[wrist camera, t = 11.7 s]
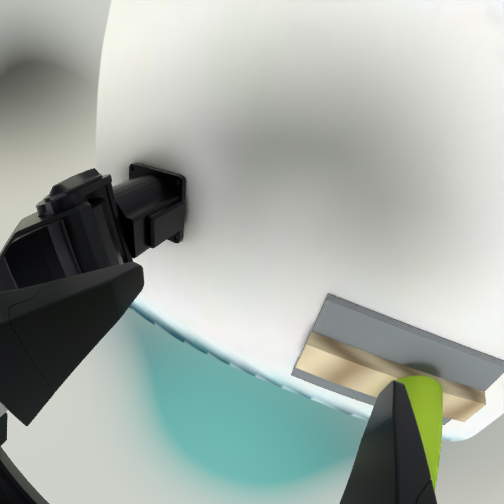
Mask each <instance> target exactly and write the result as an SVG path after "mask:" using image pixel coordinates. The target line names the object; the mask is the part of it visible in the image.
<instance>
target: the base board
mask: <svg viewBox="0 0 504 504" xmlns="http://www.w3.org/2000/svg"><path fill="white" fill-rule="evenodd" d="M312 331H314V332H316V333H319V334H321V335H324V336H326V337H329V338H331V339H334V340H336V341H339V342H342V343H344V344H347V345H349V346H352V347H355V348H357V349H360V350H363V351H365V352H368V353H371V354H373V355H376V356H379V357H382V358H384V359H387V360H390V361H393V362H396V363H398V364H401V365H404V366H407V367H410V368H413V369H416V370H419V371H422V372H425V373H428V374H431V375H434V376H437V377H440V378H443V379H446V380H449V381H452V382H456V383H459V384H462V385H465V386H469V387H472V388H475V389H479V390H482V391H485V390H486V389H487V388H489V387H490V386H491V385H492V384H493V383H494V382H495V381H496V380H497V379H498V378H499V377H500V376H501V375H502V374H503V373H504V361H503V360H500V359H497V358H494V357H492V356H489V355H486V354H484V353H481V352H478V351H476V350H473V349H470V348H468V347H465V346H462V345H460V344H457V343H454V342H452V341H449V340H446V339H444V338H441V337H439V336H436V335H433V334H431V333H428V332H426V331H423V330H420V329H418V328H415V327H412V326H410V325H407V324H405V323H402V322H400V321H397V320H394V319H392V318H389V317H387V316H384V315H381V314H379V313H376V312H374V311H371V310H369V309H366V308H364V307H361V306H358V305H356V304H353V303H351V302H348V301H346V300H343V299H341V298H338V297H336V296H333V295H331V294H328V296H327V298H326V300H325V303H324V305H323V307H322V310H321V312H320V314H319V316H318V319H317V321H316V323H315V325H314V327H313V330H312ZM310 335H311V334H310ZM309 337H310V336H309ZM308 339H309V338H308ZM307 341H308V340H307ZM306 343H307V342H306ZM305 345H306V344H305ZM300 356H301V355H300ZM299 358H300V357H299ZM298 360H299V359H298ZM297 362H298V361H297ZM296 365H297V363H296ZM296 365H295V367H294V369H293V371H292V373H291V375H292V376H295V377H297V378H299V379H302V380H304V381H307V382H309V383H312V384H315V385H317V386H320V387H322V388H325V389H328V390H330V391H333V392H336V393H339V394H341V395H344V396H347V397H350V398H353V399H356V400H358V401H361V402H364V403H367V404H371V405H375V402H376V399H377V398H376V397H373V396H370V395H367V394H364V393H362V392H359V391H356V390H353V389H350V388H347V387H345V386H342V385H339V384H336V383H334V382H331V381H328V380H326V379H323V378H321V377H318V376H315V375H313V374H310V373H308V372H305V371H303V370H300V369H298V368H296ZM450 420H451V419H450V418H446V417H443V418H442V425H445V424H446V423H447V422H449V421H450Z"/></svg>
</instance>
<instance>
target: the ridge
mask: <svg viewBox="0 0 504 504" xmlns="http://www.w3.org/2000/svg"><path fill="white" fill-rule="evenodd" d="M296 368H298V369H300V370H303V371H305V372H308V373H310V374H313V375H315V376H318V377H321V378H323V379H326V380H328V381H331V382H334V383H336V384H339V385H342V386H345V387H347V388H350V389H353V390H356V391H359V392H362V393H364V394H367V395H370V396H373V397H376V398H377V397H378V395H379V393H380V392H381V391H382V390H383V389H384V388H385V387H386V386H387V385H388V384H389V383H390V382H391V381H393V380H398V379H401V378H404V377H409V376H426V377H430V378H433V379H435V380H437V381H438V382H439V383H440V384H441V386H442V388H443V417H446V418H450V419H454V420H459V421H463V422H465V421H466V420H467V419H469V418H470V417H471V416H472V415H474V414H475V413H476V412H477V411H479V410H480V409H481V408H482V407H483V406H485V405H486V400H485V391H482V390H479V389H475V388H472V387H469V386H465V385H462V384H459V383H456V382H452V381H449V380H446V379H443V378H440V377H437V376H434V375H431V374H428V373H425V372H422V371H419V370H416V369H413V368H410V367H407V366H404V365H401V364H398V363H396V362H393V361H390V360H387V359H384V358H382V357H379V356H376V355H373V354H371V353H368V352H365V351H363V350H360V349H357V348H355V347H352V346H349V345H347V344H344V343H342V342H339V341H336V340H334V339H331V338H329V337H326V336H324V335H321V334H319V333H316V332H314V331H312V332H311V335H310V337H309V339H308V341H307V343H306V345H305V347H304V349H303V351H302V353H301V356H300V358H299V360H298V362H297V365H296Z"/></svg>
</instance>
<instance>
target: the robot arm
mask: <svg viewBox="0 0 504 504" xmlns="http://www.w3.org/2000/svg"><path fill="white" fill-rule="evenodd" d="M178 180H180V183H179V181H178ZM111 182H112V179H111V175H105V176H102V175H101V174H99V173H98V171H97V170H96V169H95V168H94V169H90V170H87V171H85V172H83V173H79V174H77V175H75V176H72V177H70V178H68V179H66V180H64V181H62V182H60V183H58V184H56V185H55V186H53V187H52V190H51V192H50V194H49V195H48V196H46V197H45V198H44V199H43V200H42V201H41V202H39V203H38V204H37V205H36V207H37V210H38V212H36V213H34V214H32V215H30V216H27V217H26V218H24V219H22V220H21V221H20V222H19V224H18V225H17V227H16V228H15V230H14V232H13V233H12V235H11V236H10V238H9V239H8V241H7V242H6V244H5V246H4V247H3V249H2V251H1V252H0V504H49V503H48V502H47V501H46V500H45V499H44V498H43V497H42V496H41V495H40V494H39V493H38V492H37V491H36V490H35V488H34V487H33V486H32V485H31V484H30V483H29V482H28V481H27V479H26V478H25V477H24V476H23V475H22V473H21V472H20V471H19V470H18V469H17V467H16V466H15V465H14V464H13V462H12V461H11V460H10V458H9V457H8V456H7V454H6V453H5V452H4V451H3V449H2V448H1V445H2V444H3V443H4V442H5V441H6V440H7V413H6V411H7V410H9V411H10V412H11V413H12V414H13V415H14V416H15V417H16V418H18V419H19V420H20V421H21V422H22V423H23V424H24V425H26V426H28V425H29V424H30V423H31V421H32V420H33V419H34V418H35V417H36V415H37V414H38V413H39V412H40V410H41V409H42V408H43V406H44V405H45V404H46V403H47V402H48V401H49V399H50V398H51V397H52V396H53V394H54V393H55V392H56V391H57V389H58V388H59V387H60V386H61V385H62V384H63V382H64V381H65V380H66V379H67V378H68V376H69V375H70V374H71V373H72V372H73V371H74V369H75V368H76V367H77V366H78V365H79V364H80V363H81V362H82V360H83V359H84V358H85V357H86V356H87V355H88V354H89V352H90V351H91V350H92V349H93V348H94V347H95V346H96V345H97V344H98V342H99V341H100V340H101V339H102V338H103V337H104V336H105V335H106V333H107V332H108V331H109V330H110V329H111V328H112V327H113V326H114V325H115V324H116V323H117V322H118V320H119V319H120V318H121V317H122V315H123V314H124V313H125V311H126V310H127V309H128V308H129V306H130V305H131V304H132V302H133V301H134V300H135V298H136V297H137V296H138V294H139V293H140V292H141V291H142V289H143V287H144V274H143V268H142V266H141V265H139V264H137V263H135V262H133V259H132V258H136V257H137V256H139V255H140V254H142V253H143V252H144V251H146V250H147V249H149V248H150V247H151V248H155V247H156V246H158V245H159V244H161V243H162V242H163V241H165V240H166V239H167V240H170V241H172V242H174V243H179V242H181V241H182V239H183V226H184V206H185V203H184V198H185V183H186V182H185V178H184V177H183V176H181V175H178V174H175V173H171V172H168V171H164V170H160V169H157V168H153V167H149V166H146V165H142V164H138V163H133V164H131V165H130V166H129V180H128V181H125V182H123V183H120V184H118V185H116V186H113V187H112V184H111ZM177 238H178V239H177ZM340 504H437V501H436V496H435V492H434V487H433V483H432V480H431V474H430V470H429V466H428V461H427V457H426V453H425V450H424V446H423V442H422V438H421V435H420V431H419V428H418V425H417V421H416V418H415V415H414V411H413V408H412V405H411V402H410V399H409V396H408V393H407V390H406V387H405V385H404V384H403V383H402V382H399V381H396V380H393V381H391V382H390V383H389V384H388V385H387V386H386V387H385V388H384V389H383V390H382V391H381V392H380V393H379V395H378V397H377V399H376V402H375V405H374V408H373V410H372V413H371V416H370V419H369V421H368V424H367V426H366V429H365V432H364V434H363V437H362V439H361V443H360V446H359V450H358V452H357V456H356V459H355V462H354V465H353V469H352V472H351V474H350V477H349V480H348V483H347V486H346V489H345V491H344V494H343V496H342V499H341V501H340Z"/></svg>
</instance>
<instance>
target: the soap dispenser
mask: <svg viewBox="0 0 504 504" xmlns="http://www.w3.org/2000/svg"><path fill="white" fill-rule="evenodd" d="M396 381H399V382H402V383H403V384H404V385H405V387H406V390H407V393H408V396H409V399H410V402H411V405H412V408H413V411H414V415H415V418H416V421H417V425H418V428H419V431H420V435H421V438H422V442H423V446H424V450H425V453H426V457H427V461H428V466H429V470H430V474H431V480H432V483H433V487H434V492H435V486H436V480H437V474H438V466H439V458H440V448H441V437H442V418H443V388H442V386H441V384H440V383H439V382H438V381H437V380H435V379H433V378H430V377H426V376H409V377H404V378H401V379H398V380H396Z"/></svg>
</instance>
